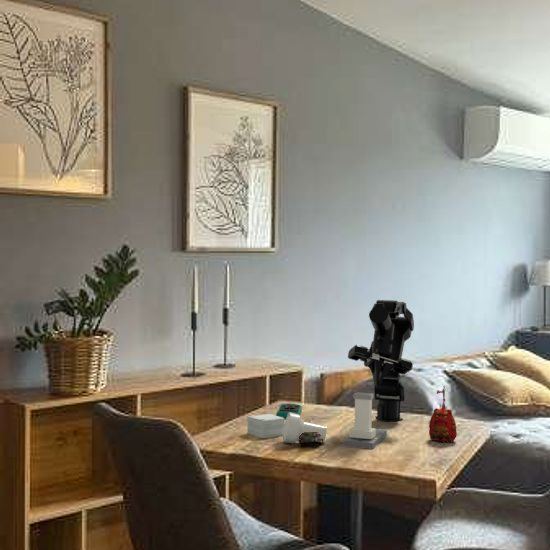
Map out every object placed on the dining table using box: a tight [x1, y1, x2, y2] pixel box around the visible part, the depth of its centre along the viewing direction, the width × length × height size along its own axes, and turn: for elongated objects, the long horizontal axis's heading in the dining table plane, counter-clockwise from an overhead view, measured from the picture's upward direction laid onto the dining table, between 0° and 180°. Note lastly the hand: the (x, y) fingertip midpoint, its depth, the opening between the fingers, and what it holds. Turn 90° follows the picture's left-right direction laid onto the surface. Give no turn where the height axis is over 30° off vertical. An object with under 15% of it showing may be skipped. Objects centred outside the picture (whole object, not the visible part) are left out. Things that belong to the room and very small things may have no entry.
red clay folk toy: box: [428, 385, 458, 443], centre depth 222 cm, size 8×7×15 cm
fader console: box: [343, 428, 388, 450], centre depth 220 cm, size 18×8×2 cm, turn 161°
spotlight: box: [282, 412, 327, 445], centre depth 216 cm, size 8×11×8 cm
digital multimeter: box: [275, 403, 303, 420], centre depth 256 cm, size 7×15×3 cm, turn 175°
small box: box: [246, 413, 285, 439], centre depth 226 cm, size 8×8×5 cm
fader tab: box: [349, 391, 377, 439], centre depth 216 cm, size 5×6×12 cm
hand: (376, 386), depth 233 cm, fingers closed
